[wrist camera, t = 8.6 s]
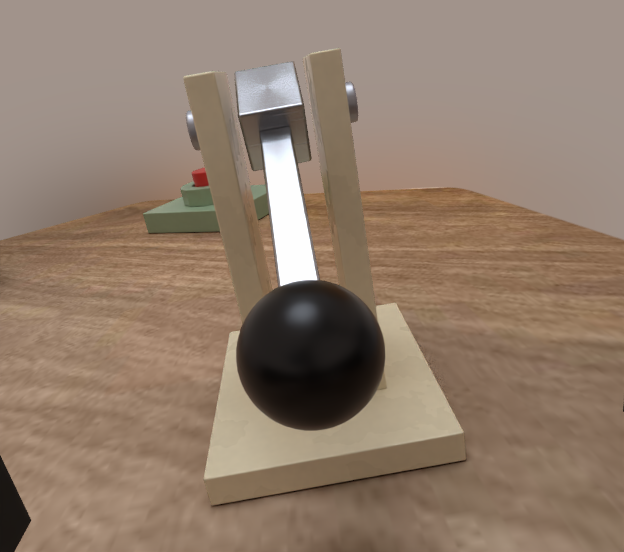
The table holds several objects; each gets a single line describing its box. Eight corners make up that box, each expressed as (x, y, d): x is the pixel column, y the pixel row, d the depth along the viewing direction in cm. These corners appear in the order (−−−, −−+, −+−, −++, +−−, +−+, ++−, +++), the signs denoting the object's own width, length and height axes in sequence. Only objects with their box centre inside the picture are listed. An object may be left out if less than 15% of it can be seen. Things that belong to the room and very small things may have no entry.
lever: (400, 439, 13) (403, 369, 10) (257, 464, 13) (222, 402, 10) (321, 126, 21) (311, 41, 19) (233, 142, 21) (210, 58, 19)
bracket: (466, 460, 18) (433, 27, 13) (211, 506, 18) (82, 91, 13) (398, 321, 29) (365, 48, 24) (234, 351, 29) (166, 84, 24)
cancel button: (234, 180, 57) (231, 164, 57) (215, 188, 55) (211, 171, 54) (208, 181, 59) (205, 166, 59) (188, 190, 56) (184, 174, 56)
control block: (288, 202, 59) (281, 167, 58) (239, 231, 51) (230, 191, 50) (204, 206, 65) (196, 174, 64) (148, 233, 57) (137, 197, 56)
